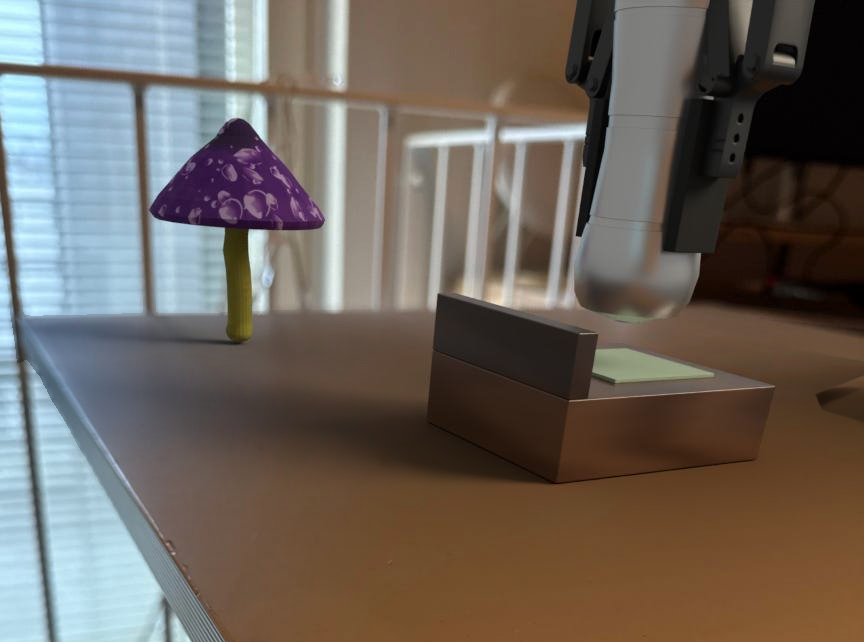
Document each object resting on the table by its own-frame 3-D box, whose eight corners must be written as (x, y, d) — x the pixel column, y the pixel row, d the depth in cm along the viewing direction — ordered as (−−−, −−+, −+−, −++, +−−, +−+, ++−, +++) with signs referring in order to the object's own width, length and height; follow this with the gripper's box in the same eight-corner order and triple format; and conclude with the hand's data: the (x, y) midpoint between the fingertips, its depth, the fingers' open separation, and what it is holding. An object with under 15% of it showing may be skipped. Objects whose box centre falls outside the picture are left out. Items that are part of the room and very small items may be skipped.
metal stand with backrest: (611, 406, 62) (631, 292, 58) (757, 459, 52) (790, 327, 49) (425, 421, 55) (436, 292, 52) (555, 484, 46) (578, 333, 43)
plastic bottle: (558, 322, 50) (629, -171, 40) (574, 306, 55) (639, -128, 46) (686, 336, 48) (790, -172, 39) (689, 319, 54) (780, -128, 45)
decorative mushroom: (245, 323, 80) (245, 120, 74) (355, 348, 73) (366, 127, 67) (119, 336, 72) (106, 107, 65) (231, 366, 65) (229, 114, 58)
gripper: (534, -312, 45) (479, 224, 55) (898, -510, 30) (729, 267, 41) (653, -269, 48) (580, 228, 59) (1031, -429, 34) (844, 269, 44)
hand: (641, 243), depth 50 cm, fingers closed on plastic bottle, 6 cm apart
